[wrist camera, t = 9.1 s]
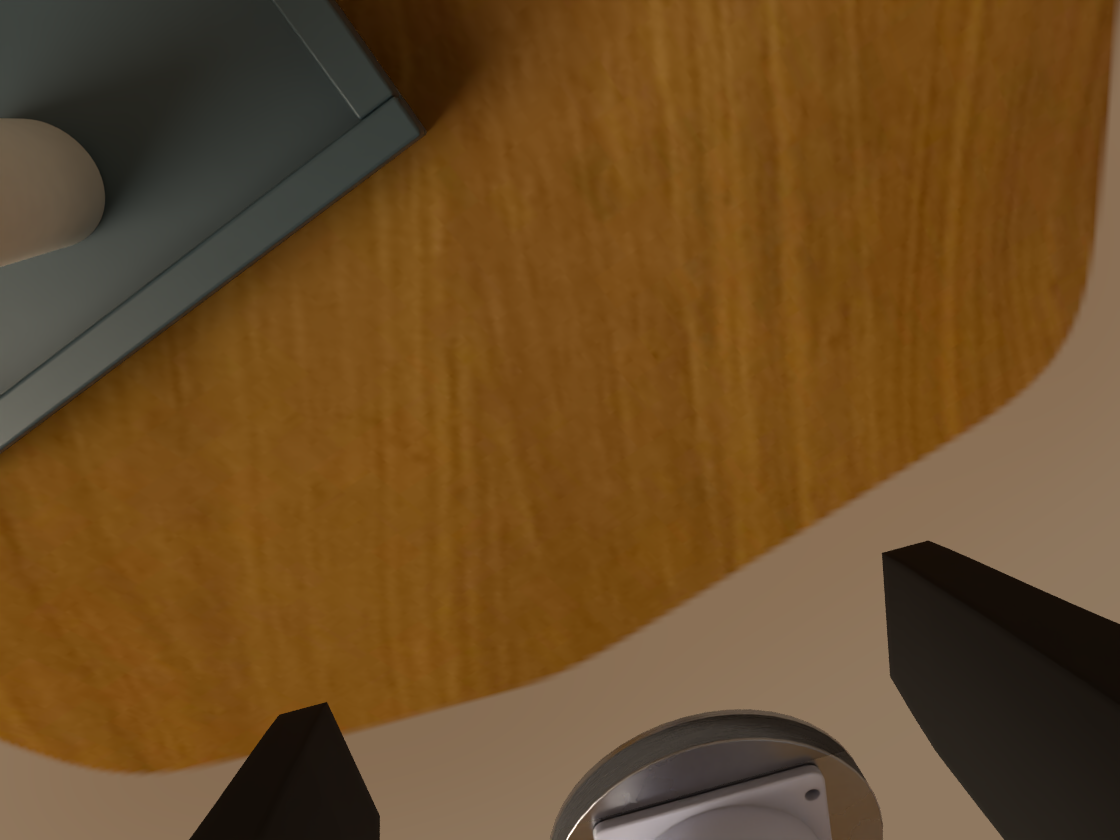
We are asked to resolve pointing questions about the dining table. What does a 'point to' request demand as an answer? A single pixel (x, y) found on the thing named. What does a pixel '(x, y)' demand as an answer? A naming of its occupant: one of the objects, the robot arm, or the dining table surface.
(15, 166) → the glue stick
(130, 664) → the dining table surface
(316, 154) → the desk tray
